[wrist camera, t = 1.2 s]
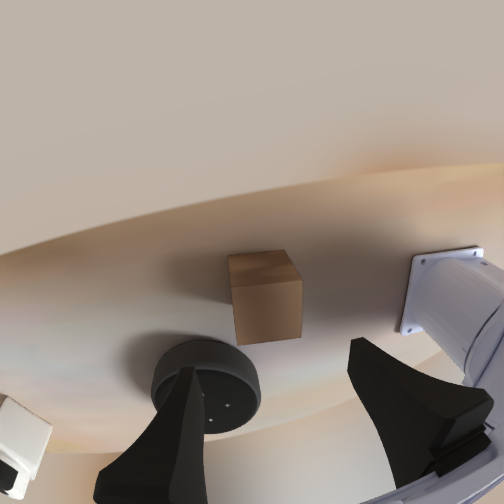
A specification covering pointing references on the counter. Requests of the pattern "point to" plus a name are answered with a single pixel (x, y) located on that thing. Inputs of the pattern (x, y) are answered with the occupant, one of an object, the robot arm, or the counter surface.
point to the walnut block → (265, 297)
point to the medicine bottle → (20, 447)
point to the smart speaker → (213, 382)
